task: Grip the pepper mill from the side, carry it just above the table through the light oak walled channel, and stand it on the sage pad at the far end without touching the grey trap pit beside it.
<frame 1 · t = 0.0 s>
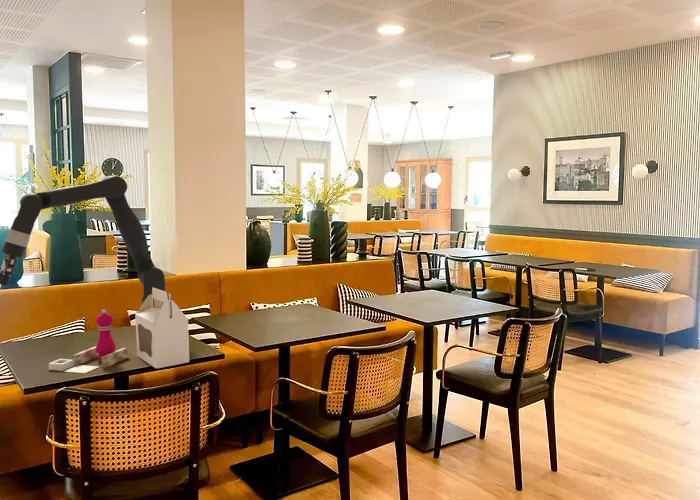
hand: (1, 283, 219), 31 cm above the table, tool tilted 20°, fingers open, 8 cm apart
gable box: (162, 359, 228), on the table
trap pit: (61, 368, 217), on the table
pepper mill: (106, 359, 229), on the table
sage pad: (82, 369, 215), on the table
oak channel: (101, 361, 226), on the table
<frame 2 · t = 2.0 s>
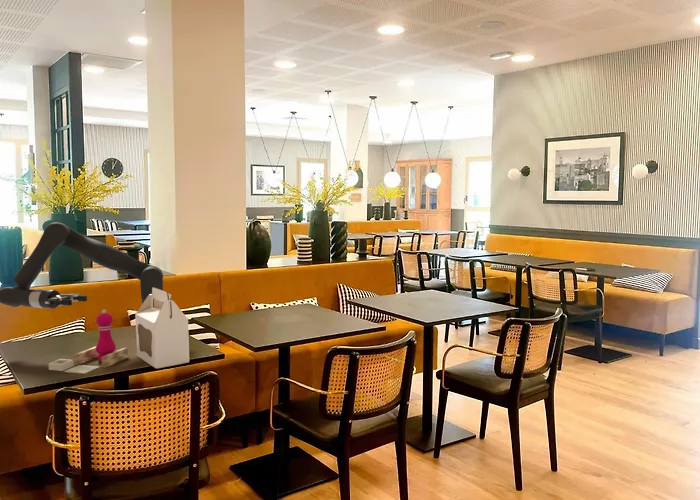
hand: (79, 300, 229), 23 cm above the table, tool horizontal, fingers open, 8 cm apart
nothing on the table moved.
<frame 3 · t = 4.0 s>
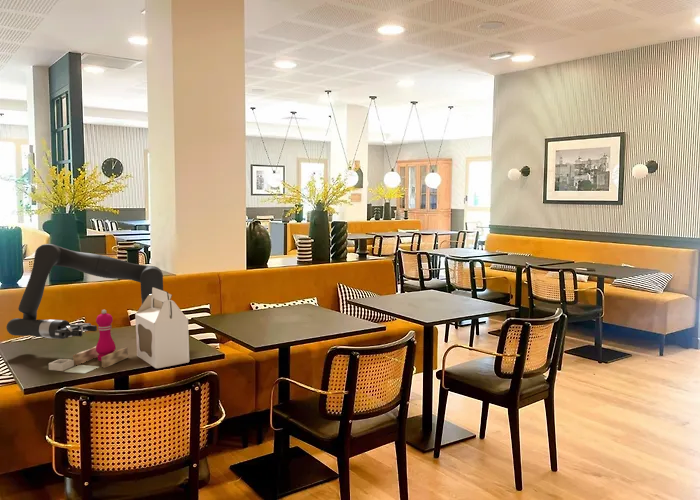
hand: (89, 331, 229), 11 cm above the table, tool horizontal, fingers open, 8 cm apart
nothing on the table moved.
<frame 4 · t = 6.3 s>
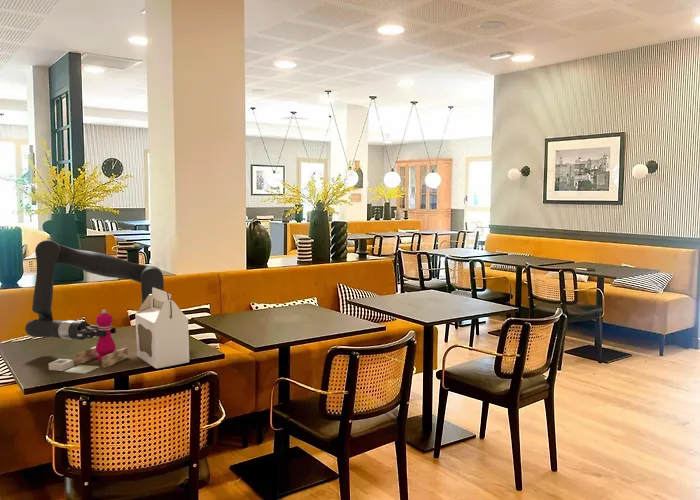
hand: (110, 332, 227), 11 cm above the table, tool horizontal, fingers closed on pepper mill, 5 cm apart
pepper mill: (106, 359, 229), on the table, touching gripper
everything else where it was.
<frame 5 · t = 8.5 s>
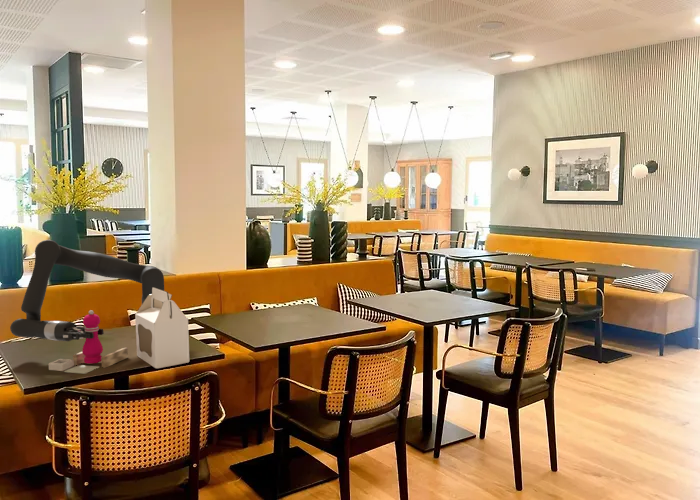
hand: (97, 333, 220), 12 cm above the table, tool horizontal, fingers closed on pepper mill, 5 cm apart
pepper mill: (93, 361, 222), point 1 cm above the table, touching gripper
everything else where it was.
when the fingers open (12 cm above the table, at t = 10.6 s): pepper mill stays where it is, resting on sage pad.
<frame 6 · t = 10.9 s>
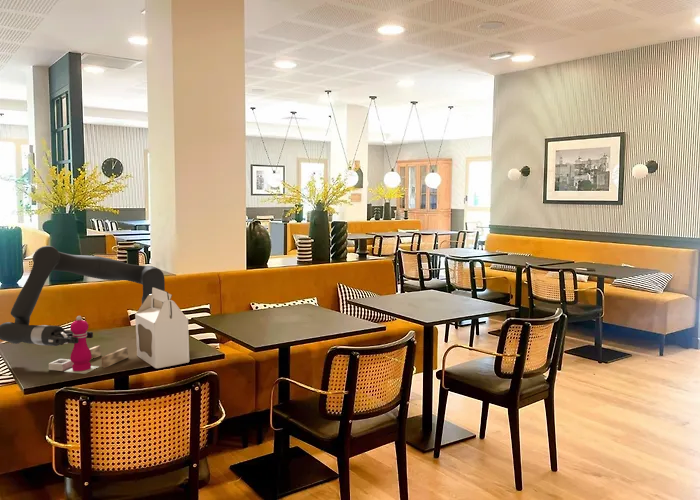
hand: (85, 337, 213), 12 cm above the table, tool horizontal, fingers open, 7 cm apart
pepper mill: (81, 369, 215), resting on sage pad
everything else where it was.
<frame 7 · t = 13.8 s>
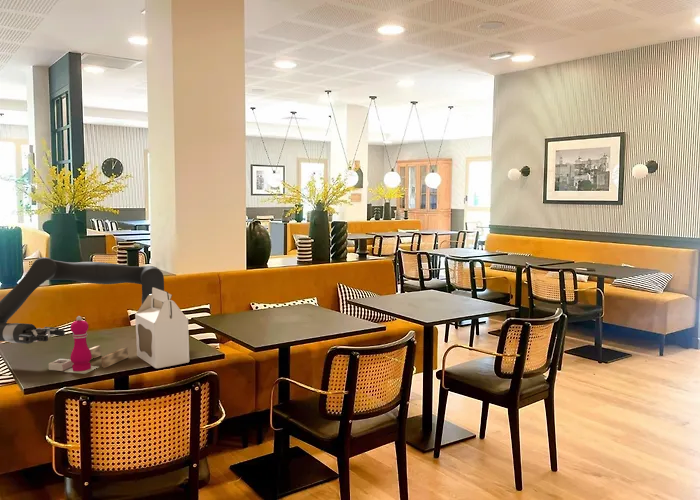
hand: (55, 335, 216), 12 cm above the table, tool horizontal, fingers open, 8 cm apart
nothing on the table moved.
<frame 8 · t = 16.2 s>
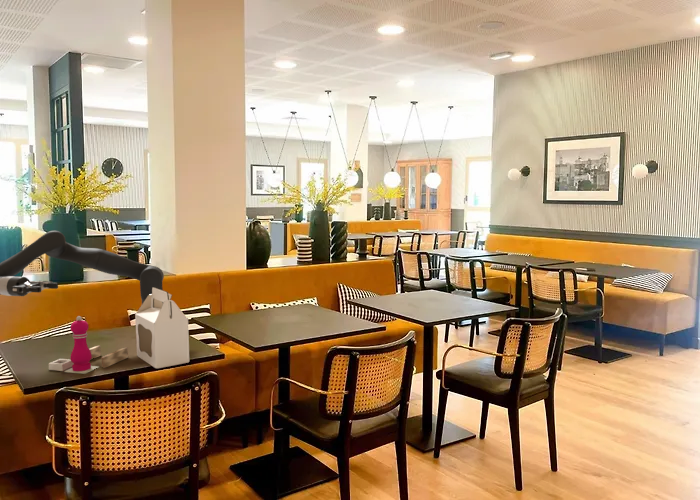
hand: (49, 287, 219), 30 cm above the table, tool horizontal, fingers open, 8 cm apart
nothing on the table moved.
at the end: pepper mill 0.1 cm off-centre on the sage pad, point 0.1 cm above the sage pad's base; pepper mill tilted 0°; pepper mill touching sage pad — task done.
